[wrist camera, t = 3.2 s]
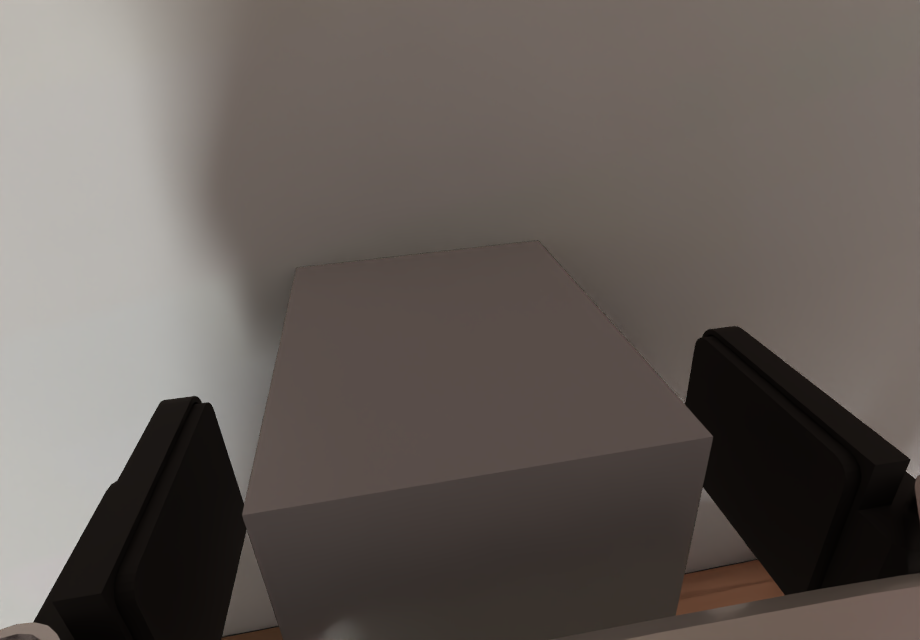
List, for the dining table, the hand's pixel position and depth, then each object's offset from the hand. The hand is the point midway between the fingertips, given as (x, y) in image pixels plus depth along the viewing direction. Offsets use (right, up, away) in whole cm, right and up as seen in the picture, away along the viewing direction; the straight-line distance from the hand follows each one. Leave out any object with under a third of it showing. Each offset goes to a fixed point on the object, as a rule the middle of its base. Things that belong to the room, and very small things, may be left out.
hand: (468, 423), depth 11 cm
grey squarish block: (-1, +1, +2) cm, 2 cm away
